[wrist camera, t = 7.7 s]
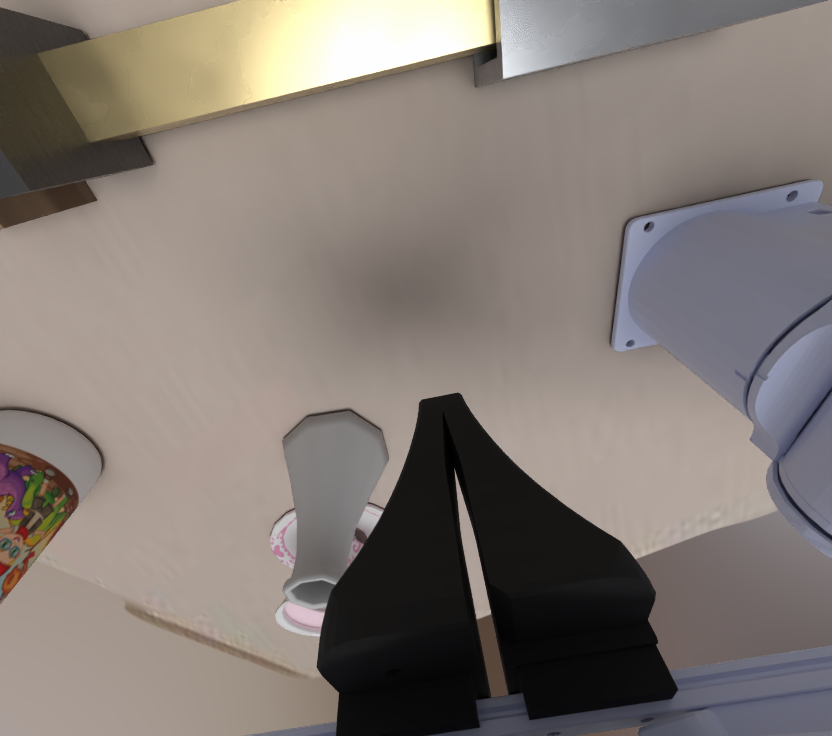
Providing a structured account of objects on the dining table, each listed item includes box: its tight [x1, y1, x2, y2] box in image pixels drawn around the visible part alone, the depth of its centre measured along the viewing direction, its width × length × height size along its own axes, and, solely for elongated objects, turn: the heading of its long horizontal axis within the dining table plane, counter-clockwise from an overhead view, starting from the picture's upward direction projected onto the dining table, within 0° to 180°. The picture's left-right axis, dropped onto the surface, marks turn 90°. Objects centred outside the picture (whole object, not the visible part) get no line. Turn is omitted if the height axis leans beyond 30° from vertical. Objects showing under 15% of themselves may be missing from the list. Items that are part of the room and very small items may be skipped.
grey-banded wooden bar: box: [0, 0, 497, 199], centre depth 12 cm, size 20×4×7 cm, turn 101°
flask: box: [282, 411, 389, 610], centre depth 23 cm, size 7×7×10 cm
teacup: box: [270, 503, 384, 636], centre depth 31 cm, size 12×12×6 cm
